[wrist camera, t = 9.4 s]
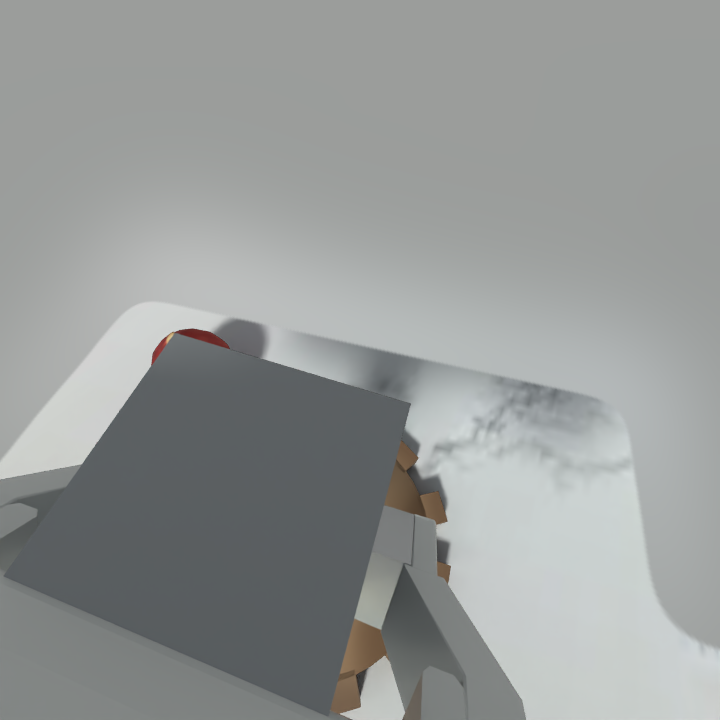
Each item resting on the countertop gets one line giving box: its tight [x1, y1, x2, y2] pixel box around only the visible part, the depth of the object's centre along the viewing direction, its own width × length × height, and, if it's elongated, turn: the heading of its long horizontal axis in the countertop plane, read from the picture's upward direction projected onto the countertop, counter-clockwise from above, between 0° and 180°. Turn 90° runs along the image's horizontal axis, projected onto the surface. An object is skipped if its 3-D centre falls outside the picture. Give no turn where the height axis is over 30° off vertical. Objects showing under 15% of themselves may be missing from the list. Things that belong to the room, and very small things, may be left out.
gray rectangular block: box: [4, 333, 411, 717], centre depth 9 cm, size 4×4×10 cm
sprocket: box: [330, 440, 451, 714], centre depth 24 cm, size 18×18×2 cm
